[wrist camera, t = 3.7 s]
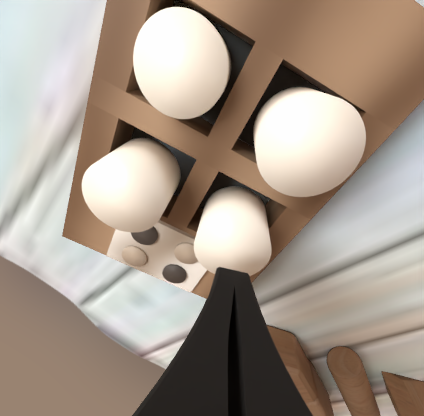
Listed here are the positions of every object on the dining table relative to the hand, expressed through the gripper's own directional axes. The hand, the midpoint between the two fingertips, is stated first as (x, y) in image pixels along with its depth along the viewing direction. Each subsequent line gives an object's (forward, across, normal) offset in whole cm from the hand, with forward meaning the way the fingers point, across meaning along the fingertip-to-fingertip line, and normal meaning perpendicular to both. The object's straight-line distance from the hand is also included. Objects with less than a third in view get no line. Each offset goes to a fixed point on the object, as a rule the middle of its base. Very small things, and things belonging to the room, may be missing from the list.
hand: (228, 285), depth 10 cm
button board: (+8, +2, -3) cm, 9 cm away
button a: (+8, +4, -7) cm, 11 cm away
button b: (+6, +6, -2) cm, 8 cm away
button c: (+6, -2, -6) cm, 8 cm away
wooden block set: (+9, -17, +17) cm, 26 cm away
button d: (+6, 0, 0) cm, 6 cm away
